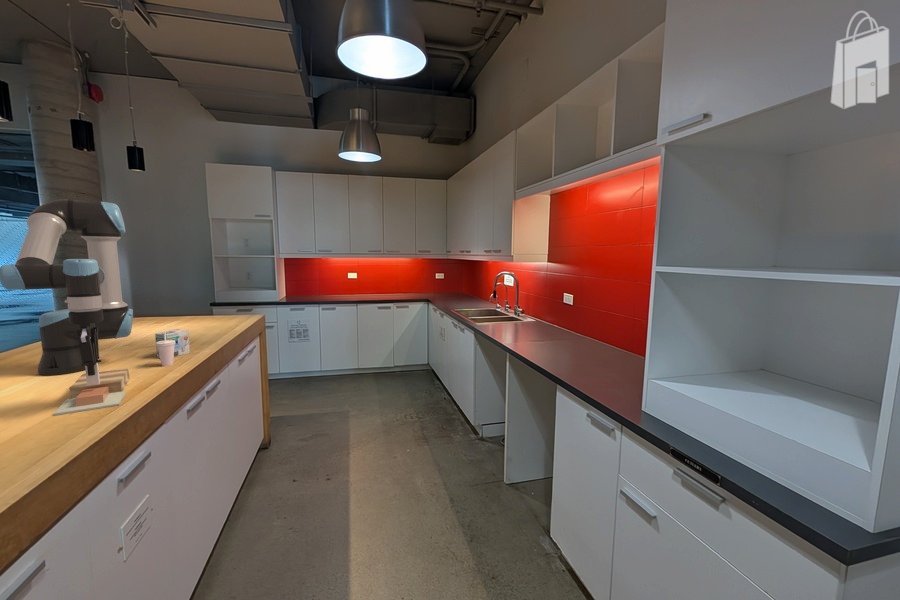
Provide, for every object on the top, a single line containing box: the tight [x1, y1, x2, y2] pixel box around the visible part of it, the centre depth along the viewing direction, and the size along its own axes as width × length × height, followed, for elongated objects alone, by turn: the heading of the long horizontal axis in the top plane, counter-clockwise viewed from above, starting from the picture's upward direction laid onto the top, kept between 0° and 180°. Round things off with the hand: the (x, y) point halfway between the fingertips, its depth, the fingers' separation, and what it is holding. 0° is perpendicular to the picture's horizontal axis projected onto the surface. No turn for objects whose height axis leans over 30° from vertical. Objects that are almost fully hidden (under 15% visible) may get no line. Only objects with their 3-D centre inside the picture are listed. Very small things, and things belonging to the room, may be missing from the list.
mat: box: [53, 390, 127, 417], centre depth 114 cm, size 12×14×1 cm
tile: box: [75, 387, 109, 407], centre depth 115 cm, size 8×6×2 cm
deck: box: [69, 368, 130, 399], centre depth 125 cm, size 16×12×4 cm
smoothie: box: [155, 331, 175, 367], centre depth 152 cm, size 6×6×14 cm
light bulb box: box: [154, 328, 190, 359], centre depth 166 cm, size 11×7×11 cm, turn 167°
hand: (93, 384), depth 116 cm, fingers closed
